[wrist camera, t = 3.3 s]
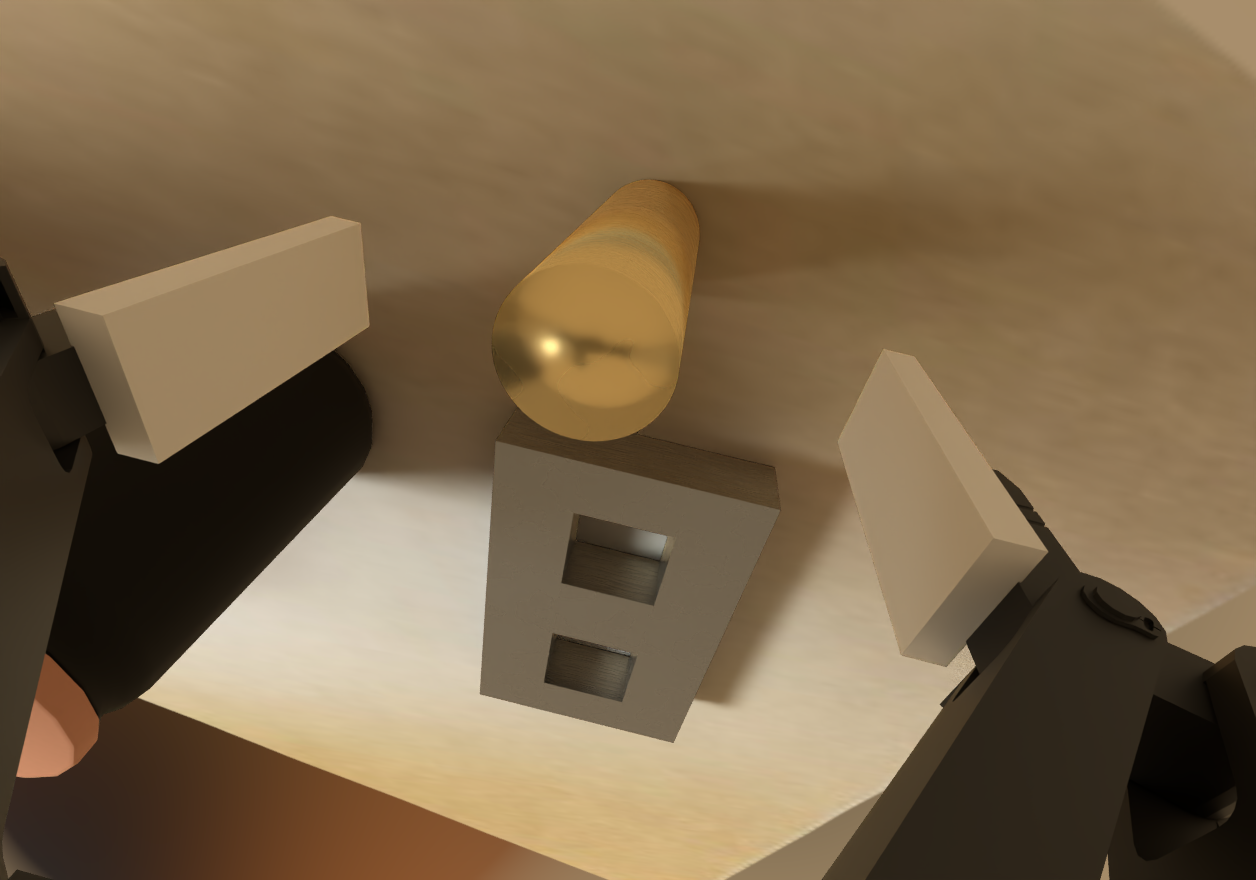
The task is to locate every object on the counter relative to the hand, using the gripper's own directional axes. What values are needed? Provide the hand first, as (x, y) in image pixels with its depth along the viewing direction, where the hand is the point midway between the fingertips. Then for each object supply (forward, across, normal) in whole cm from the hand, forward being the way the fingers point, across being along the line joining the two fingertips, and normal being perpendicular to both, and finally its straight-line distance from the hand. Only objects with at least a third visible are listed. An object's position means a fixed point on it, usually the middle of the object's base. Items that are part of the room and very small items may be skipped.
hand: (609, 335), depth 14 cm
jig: (+11, +2, -21) cm, 24 cm away
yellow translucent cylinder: (+12, 0, 0) cm, 12 cm away
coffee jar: (+11, -18, -13) cm, 25 cm away
